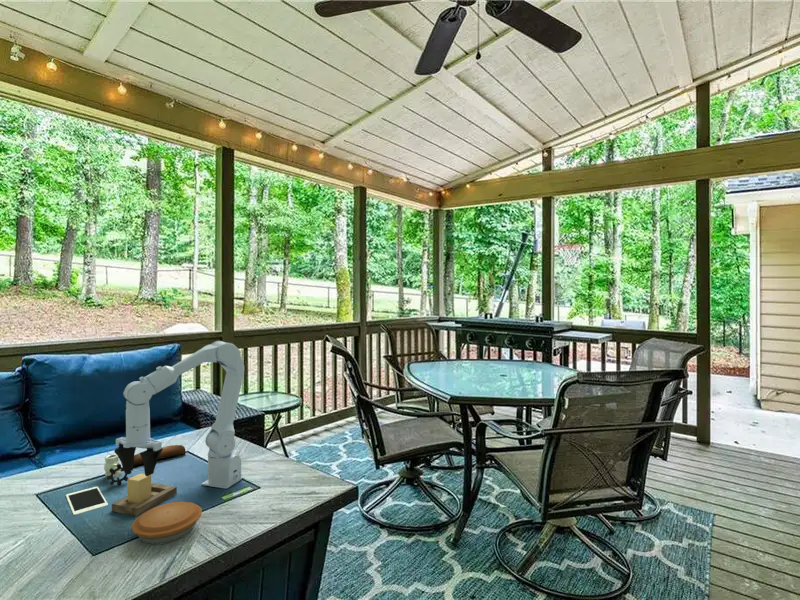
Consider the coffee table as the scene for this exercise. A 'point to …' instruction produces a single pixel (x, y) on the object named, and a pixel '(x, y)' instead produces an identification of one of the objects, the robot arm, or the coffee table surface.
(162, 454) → the sunglasses case
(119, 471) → the valve
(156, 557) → the coffee table surface
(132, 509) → the socket block
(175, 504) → the pie
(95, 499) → the cell phone
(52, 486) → the coffee table surface
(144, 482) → the square peg
